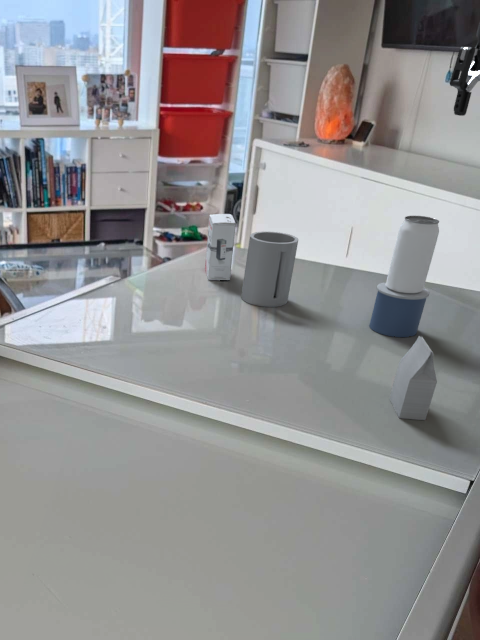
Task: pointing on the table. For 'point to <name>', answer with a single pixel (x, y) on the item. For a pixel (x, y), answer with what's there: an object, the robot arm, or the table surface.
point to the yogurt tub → (397, 312)
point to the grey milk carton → (414, 382)
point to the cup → (269, 268)
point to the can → (412, 254)
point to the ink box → (220, 246)
